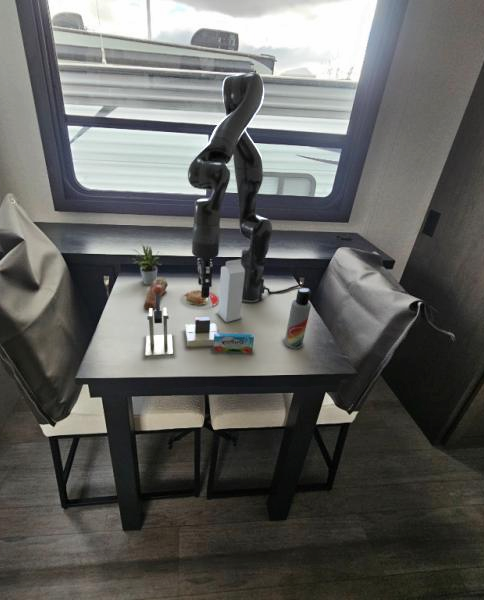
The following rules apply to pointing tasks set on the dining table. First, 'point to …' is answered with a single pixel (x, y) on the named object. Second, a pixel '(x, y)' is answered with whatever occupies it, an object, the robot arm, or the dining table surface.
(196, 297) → the hamburger
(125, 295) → the dining table surface
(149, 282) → the house plant
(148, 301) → the bread
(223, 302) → the milk
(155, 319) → the red ball lever
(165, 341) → the lever bracket
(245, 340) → the blue flat cardboard box
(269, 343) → the dining table surface
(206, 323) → the black red-tipped box
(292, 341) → the lotion bottle
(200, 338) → the panel
